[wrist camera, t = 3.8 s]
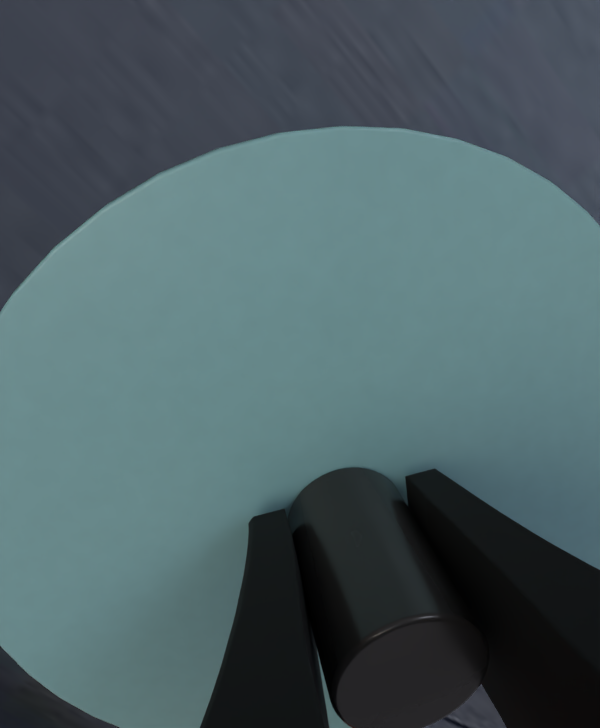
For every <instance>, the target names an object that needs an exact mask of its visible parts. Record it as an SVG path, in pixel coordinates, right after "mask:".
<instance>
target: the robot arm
mask: <svg viewBox="0 0 600 728" xmlns="http://www.w3.org/2000/svg"><path fill="white" fill-rule="evenodd" d="M405 480H406V490H407V500H408V507H409V509H410V511H411V512H412V514H413V516H414V517H415V519H416V521H417V522H418V524H419V526H420V527H421V529H422V531H423V532H424V534H425V536H426V537H427V539H428V541H429V542H430V544H431V546H432V547H433V549H434V551H435V552H436V554H437V556H438V557H439V559H440V561H441V562H442V564H443V566H444V567H445V569H446V571H447V572H448V574H449V576H450V577H451V579H452V581H453V582H454V584H455V586H456V587H457V589H458V591H459V592H460V594H461V596H462V597H463V599H464V601H465V602H466V604H467V606H468V607H469V609H470V611H471V612H472V614H473V615H474V617H475V619H476V620H477V622H478V624H479V625H480V627H481V629H482V630H483V632H484V634H485V636H486V638H487V641H488V645H489V653H490V658H489V665H488V669H487V672H486V674H485V677H484V679H483V681H482V682H481V684H482V686H483V687H484V689H485V691H486V692H487V694H488V696H489V697H490V699H491V701H492V703H493V704H494V706H495V708H496V709H497V711H498V713H499V714H500V716H501V718H502V720H503V722H504V723H505V725H506V727H507V728H600V570H599V569H597V568H595V567H593V566H592V565H590V564H588V563H586V562H584V561H582V560H580V559H579V558H577V557H575V556H573V555H571V554H570V553H568V552H566V551H564V550H562V549H561V548H559V547H557V546H555V545H553V544H552V543H550V542H548V541H546V540H545V539H543V538H541V537H540V536H538V535H536V534H535V533H533V532H531V531H530V530H528V529H527V528H525V527H523V526H522V525H520V524H519V523H517V522H515V521H514V520H512V519H511V518H509V517H507V516H506V515H504V514H503V513H501V512H500V511H498V510H496V509H495V508H493V507H492V506H490V505H489V504H487V503H486V502H484V501H483V500H481V499H480V498H478V497H477V496H475V495H474V494H472V493H471V492H469V491H468V490H466V489H465V488H463V487H462V486H460V485H459V484H458V483H456V482H455V481H453V480H452V479H450V478H449V477H447V476H446V475H444V474H443V473H441V472H440V471H438V470H436V469H435V468H434V469H431V470H427V471H423V472H419V473H416V474H412V475H408V476H405ZM248 529H249V533H248V547H247V555H246V562H245V568H244V575H243V580H242V585H241V589H240V594H239V599H238V604H237V608H236V613H235V617H234V621H233V625H232V628H231V632H230V635H229V639H228V643H227V646H226V650H225V653H224V657H223V660H222V664H221V667H220V671H219V674H218V677H217V680H216V683H215V686H214V689H213V692H212V695H211V698H210V701H209V704H208V706H207V709H206V712H205V715H204V717H203V720H202V723H201V726H200V728H329V722H328V716H327V710H326V703H325V697H324V691H323V685H322V678H321V672H320V666H319V660H318V653H317V647H316V643H315V639H314V635H313V631H312V627H311V623H310V619H309V616H308V612H307V607H306V601H305V596H304V590H303V584H302V578H301V573H300V569H299V564H298V560H297V555H296V551H295V546H294V542H293V537H292V533H291V529H290V526H289V522H288V519H287V515H286V512H285V508H284V509H280V510H277V511H273V512H269V513H265V514H262V515H258V516H254V517H253V518H252V519H251V520H250V522H249V523H248Z"/></svg>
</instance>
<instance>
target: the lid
mask: <svg viewBox="0 0 600 728" xmlns="http://www.w3.org/2000/svg"><path fill="white" fill-rule="evenodd" d="M434 468H435V469H436V470H438V471H440V472H441V473H443V474H444V475H446V476H447V477H449V478H450V479H452V480H453V481H455V482H456V483H458V484H459V485H460V486H462V487H463V488H465V489H466V490H468V491H469V492H471V493H472V494H474V495H475V496H477V497H478V498H480V499H481V500H483V501H484V502H486V503H487V504H489V505H490V506H492V507H493V508H495V509H496V510H498V511H500V512H501V513H503V514H504V515H506V516H507V517H509V518H511V519H512V520H514V521H515V522H517V523H519V524H520V525H522V526H523V527H525V528H527V529H528V530H530V531H531V532H533V533H535V534H536V535H538V536H540V537H541V538H543V539H545V540H546V541H548V542H550V543H552V544H553V545H555V546H557V547H559V548H561V549H562V550H564V551H566V552H568V553H570V554H571V555H573V556H575V557H577V558H579V559H580V560H582V561H584V562H586V563H588V564H590V565H592V566H593V567H595V568H597V569H599V570H600V226H599V225H598V224H597V222H596V221H595V220H594V219H593V218H592V217H591V215H590V214H589V213H588V212H587V211H586V210H585V209H584V208H582V207H581V206H580V205H579V204H578V203H576V202H575V201H574V200H573V199H571V198H570V197H569V196H568V195H567V194H565V193H564V192H563V191H562V190H560V189H559V188H558V187H557V186H556V185H554V184H553V183H552V182H551V181H549V180H547V179H545V178H544V177H542V176H540V175H538V174H536V173H535V172H533V171H531V170H529V169H528V168H526V167H524V166H522V165H521V164H519V163H517V162H515V161H514V160H512V159H510V158H508V157H506V156H503V155H500V154H498V153H495V152H492V151H489V150H487V149H484V148H481V147H479V146H476V145H473V144H470V143H468V142H465V141H462V140H459V139H456V138H450V137H445V136H440V135H435V134H430V133H425V132H420V131H414V130H409V129H404V128H385V127H359V126H335V127H326V128H317V129H308V130H299V131H290V132H281V133H275V134H271V135H267V136H263V137H259V138H255V139H252V140H248V141H244V142H240V143H236V144H232V145H229V146H225V147H221V148H217V149H215V150H212V151H210V152H208V153H205V154H203V155H200V156H198V157H196V158H193V159H191V160H188V161H186V162H184V163H181V164H179V165H177V166H174V167H172V168H169V169H167V170H165V171H162V172H160V173H158V174H156V175H155V176H153V177H151V178H150V179H148V180H146V181H145V182H143V183H141V184H140V185H138V186H136V187H135V188H133V189H131V190H130V191H128V192H126V193H125V194H123V195H121V196H120V197H118V198H116V199H115V200H113V201H111V202H110V203H108V204H106V205H105V206H104V207H103V208H102V209H100V210H99V211H98V212H97V213H95V214H94V215H93V216H92V217H91V218H89V219H88V220H87V221H86V222H84V223H83V224H82V225H81V226H80V227H78V228H77V229H76V230H75V231H73V232H72V233H71V234H70V235H69V236H67V237H66V238H65V239H64V240H62V241H61V242H60V243H59V244H58V245H56V246H55V247H54V248H53V249H52V250H51V251H50V252H49V253H48V255H47V256H46V257H45V258H44V259H43V260H42V261H41V262H40V263H39V264H38V266H37V267H36V268H35V269H34V270H33V271H32V272H31V273H30V274H29V276H28V277H27V278H26V279H25V280H24V281H23V282H22V283H21V284H20V285H19V287H18V288H17V289H16V290H15V291H14V292H13V293H12V295H11V296H10V298H9V299H8V301H7V302H6V304H5V306H4V307H3V309H2V310H1V312H0V646H1V647H2V648H3V649H4V650H5V651H6V652H7V653H8V654H9V655H10V656H11V657H12V658H13V659H14V660H15V661H16V662H17V663H18V664H19V665H20V666H21V667H22V668H23V669H24V670H25V671H26V672H27V673H28V674H29V675H30V676H31V677H33V678H34V679H35V680H37V681H38V682H39V683H41V684H42V685H43V686H45V687H46V688H47V689H49V690H50V691H51V692H53V693H54V694H55V695H57V696H58V697H59V698H61V699H63V700H65V701H66V702H68V703H70V704H72V705H74V706H75V707H77V708H79V709H81V710H82V711H84V712H86V713H88V714H90V715H91V716H93V717H96V718H98V719H101V720H103V721H106V722H108V723H111V724H113V725H115V726H118V727H120V728H200V726H201V723H202V720H203V717H204V715H205V712H206V709H207V706H208V704H209V701H210V698H211V695H212V692H213V689H214V686H215V683H216V680H217V677H218V674H219V671H220V667H221V664H222V660H223V657H224V653H225V650H226V646H227V643H228V639H229V635H230V632H231V628H232V625H233V621H234V617H235V613H236V608H237V604H238V599H239V594H240V589H241V585H242V580H243V575H244V568H245V562H246V555H247V547H248V533H249V529H248V523H249V522H250V520H251V519H252V518H253V517H254V516H258V515H262V514H265V513H269V512H273V511H277V510H280V509H284V508H285V512H286V515H287V519H288V522H289V526H290V529H291V533H292V537H293V542H294V546H295V551H296V555H297V560H298V564H299V569H300V573H301V578H302V584H303V590H304V596H305V601H306V607H307V612H308V616H309V619H310V623H311V627H312V631H313V635H314V639H315V643H316V647H317V653H318V660H319V666H320V672H321V678H322V685H323V691H324V697H325V703H326V710H327V716H328V722H329V728H423V727H426V726H428V725H430V724H433V723H435V722H437V721H439V720H441V719H442V718H444V717H446V716H448V715H449V714H451V713H452V712H454V711H455V710H456V709H458V708H459V707H460V706H461V705H463V704H464V703H465V702H466V701H467V700H468V699H469V698H470V697H471V696H472V695H473V693H474V692H475V691H476V690H477V688H478V687H479V686H480V684H481V682H482V681H483V679H484V677H485V674H486V672H487V669H488V665H489V658H490V653H489V645H488V641H487V638H486V636H485V634H484V632H483V630H482V629H481V627H480V625H479V624H478V622H477V620H476V619H475V617H474V615H473V614H472V612H471V611H470V609H469V607H468V606H467V604H466V602H465V601H464V599H463V597H462V596H461V594H460V592H459V591H458V589H457V587H456V586H455V584H454V582H453V581H452V579H451V577H450V576H449V574H448V572H447V571H446V569H445V567H444V566H443V564H442V562H441V561H440V559H439V557H438V556H437V554H436V552H435V551H434V549H433V547H432V546H431V544H430V542H429V541H428V539H427V537H426V536H425V534H424V532H423V531H422V529H421V527H420V526H419V524H418V522H417V521H416V519H415V517H414V516H413V514H412V512H411V511H410V509H409V507H408V500H407V490H406V480H405V476H408V475H412V474H416V473H419V472H423V471H427V470H431V469H434Z"/></svg>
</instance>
